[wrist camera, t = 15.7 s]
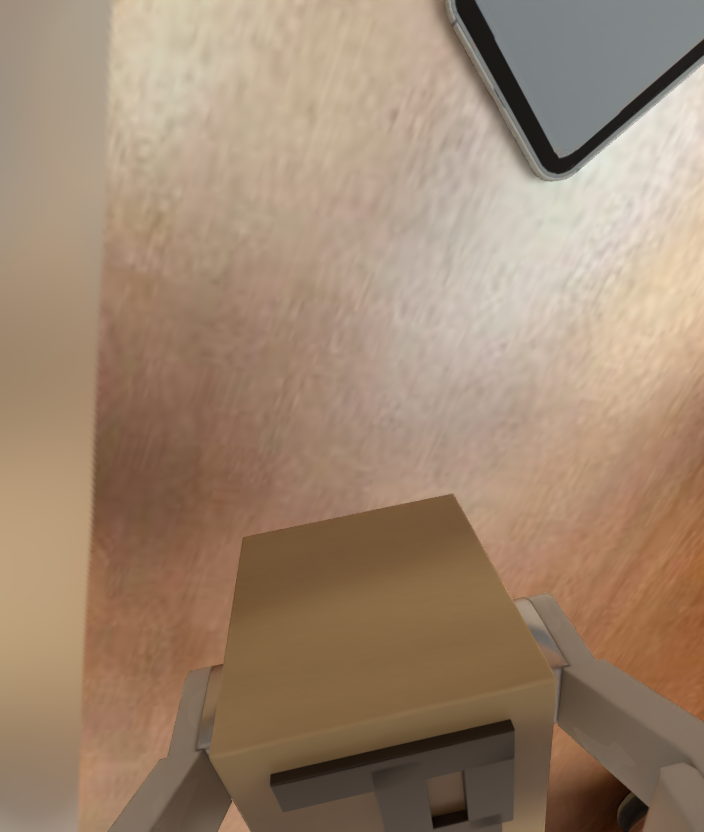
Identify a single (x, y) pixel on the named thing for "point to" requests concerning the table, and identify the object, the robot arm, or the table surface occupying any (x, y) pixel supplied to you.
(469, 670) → the tile
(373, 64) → the table surface
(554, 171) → the smartphone
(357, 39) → the table surface
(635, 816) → the ceramic bowl
